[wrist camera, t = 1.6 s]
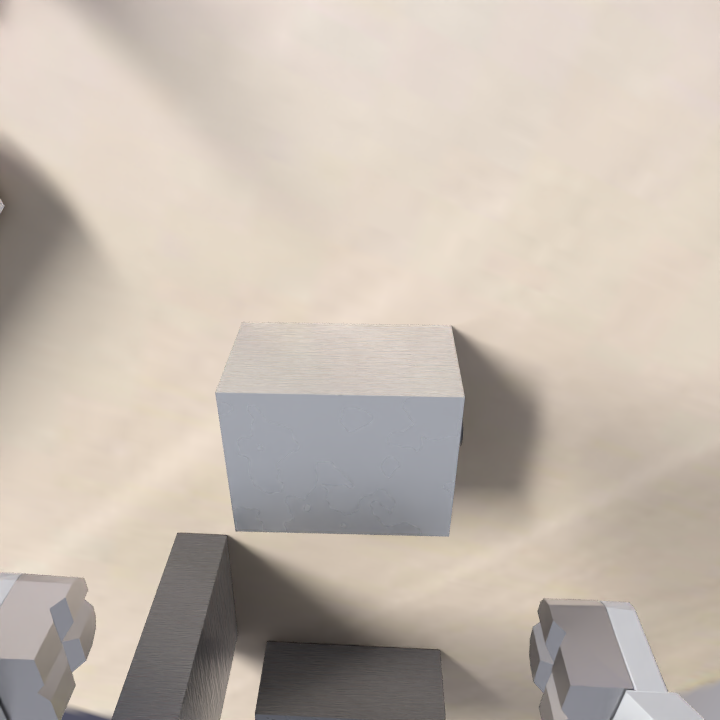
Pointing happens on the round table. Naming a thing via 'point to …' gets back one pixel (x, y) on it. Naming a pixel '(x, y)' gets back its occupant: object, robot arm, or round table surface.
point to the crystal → (1, 206)
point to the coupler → (281, 661)
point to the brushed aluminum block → (342, 428)
